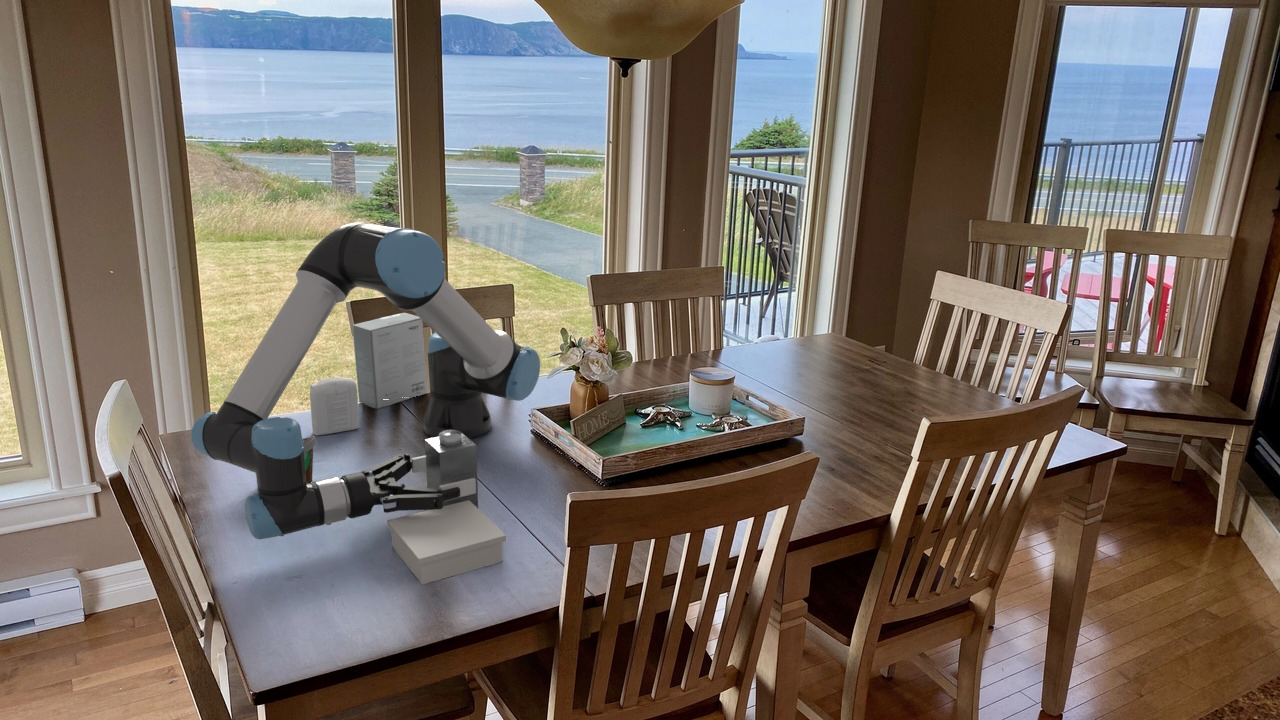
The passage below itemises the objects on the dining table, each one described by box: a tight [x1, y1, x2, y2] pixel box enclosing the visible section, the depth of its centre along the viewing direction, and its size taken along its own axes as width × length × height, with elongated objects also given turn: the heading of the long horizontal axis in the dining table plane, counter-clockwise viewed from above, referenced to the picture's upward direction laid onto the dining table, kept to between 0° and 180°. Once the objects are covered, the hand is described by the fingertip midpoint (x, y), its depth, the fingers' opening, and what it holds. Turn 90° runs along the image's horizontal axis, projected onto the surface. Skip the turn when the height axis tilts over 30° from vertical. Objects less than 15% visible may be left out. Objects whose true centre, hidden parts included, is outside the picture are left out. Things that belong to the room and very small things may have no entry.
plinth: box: [386, 500, 507, 585], centre depth 154 cm, size 15×15×5 cm
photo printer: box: [309, 376, 360, 436], centre depth 204 cm, size 10×4×12 cm, turn 123°
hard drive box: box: [351, 312, 428, 410], centre depth 223 cm, size 16×8×20 cm, turn 141°
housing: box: [424, 430, 479, 509], centre depth 167 cm, size 7×7×16 cm
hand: (460, 471), depth 168 cm, fingers open, 13 cm apart
